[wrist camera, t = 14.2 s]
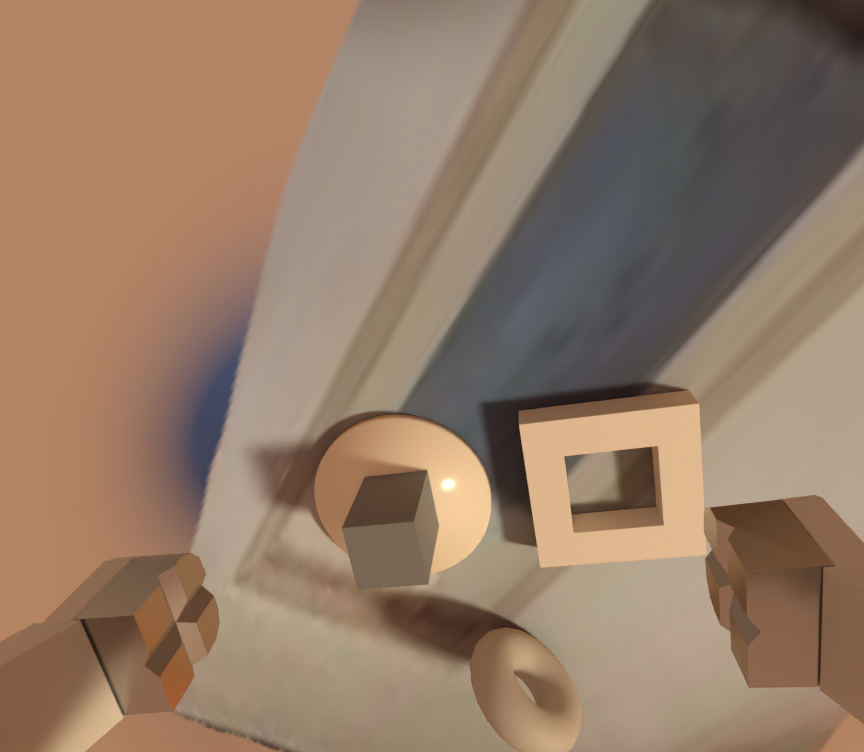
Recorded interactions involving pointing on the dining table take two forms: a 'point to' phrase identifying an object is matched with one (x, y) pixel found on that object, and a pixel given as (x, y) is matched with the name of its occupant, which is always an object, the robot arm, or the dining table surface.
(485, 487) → the peach ellipsoid
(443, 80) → the dining table surface
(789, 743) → the dining table surface
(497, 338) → the dining table surface
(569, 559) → the pocket collar
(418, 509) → the block
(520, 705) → the donut
